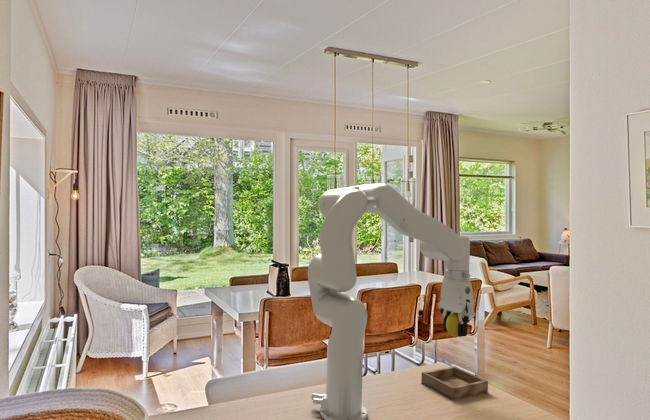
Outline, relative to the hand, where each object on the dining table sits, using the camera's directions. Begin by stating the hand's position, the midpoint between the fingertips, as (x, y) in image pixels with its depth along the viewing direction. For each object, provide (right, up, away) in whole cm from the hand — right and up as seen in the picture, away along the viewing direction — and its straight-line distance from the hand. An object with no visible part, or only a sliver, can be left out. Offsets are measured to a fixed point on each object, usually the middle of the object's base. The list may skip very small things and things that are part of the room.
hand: (454, 332), depth 138 cm
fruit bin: (0, -17, 0) cm, 17 cm away
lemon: (0, -2, 0) cm, 2 cm away
